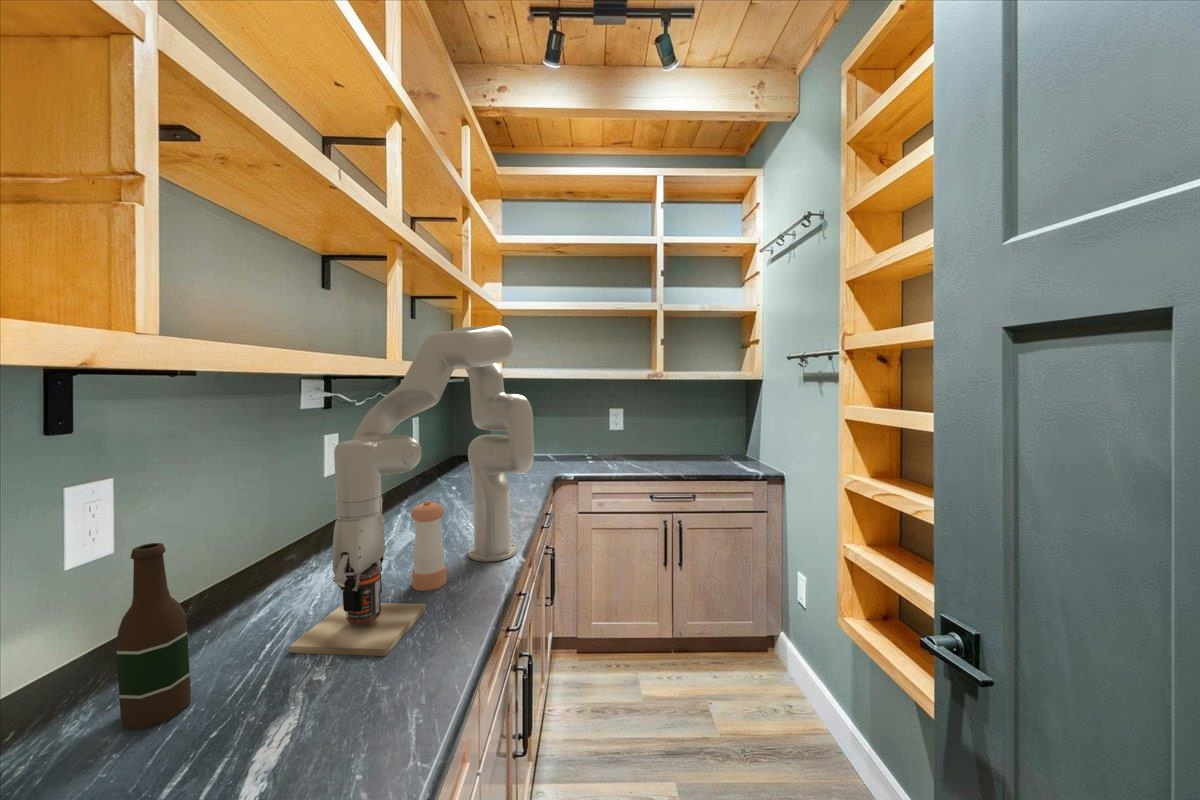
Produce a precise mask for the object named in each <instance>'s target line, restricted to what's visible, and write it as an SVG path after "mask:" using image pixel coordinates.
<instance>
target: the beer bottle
mask: <svg viewBox="0 0 1200 800" xmlns="http://www.w3.org/2000/svg"><path fill="white" fill-rule="evenodd" d="M164 553H166V547H165V545H164V543H162V542H161V543H160V542H151V543H147V544H141V545H139V546H136V547H134V548H132V549H131V554H130V559H131V560H133V571H132V572H133V575H132V577H133V583H132V601H131V605H130V607H129V608H128V610H127V611H126V612H125V614H124V615H123V617H122V619H121V622H120V624H119V627H118V629H117V636H116V665H117V677H118V678H117V680H118V693H119V695H118V696H119V711H120V719H121V726H122V728H123V729H124V728H129V729H128V730H145V729H149V728H151V727H154V726H157V725H159V724H162V723H165V722H167V721H168V722H169V721H170V720H172V719H174V718H175V717H177V715H179V714H180V713H181V712H183V711H184V710H185V709H187V708H188V707H189V706H190V704H191V690H192V689H191V676H190V674H191V673H190V659H189V656H190V653H189V640H188V638H189V637H188V626H187V619H186V618H187V617H186V612H185V610H184V608H183V607H182V605H181V603H180V602H178V601H177V600H176V599H175V598H173V596H171V594H170V590H169V587H168V582H167V581H168V580H167V573H166V566H165V560H164ZM148 727H149V728H148Z"/></svg>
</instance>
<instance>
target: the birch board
mask: <svg viewBox="0 0 1200 800" xmlns="http://www.w3.org/2000/svg"><path fill="white" fill-rule="evenodd" d="M426 610H427V604H426V603H403V602H402V603H400V602H399V603H397V602H393V603H392V602H381V613H380V615H379V616H378V617H377V618H376V619H374V620H372V621H370V622H367V623H363V624H352V623H349V622H348V621H347V620H346V611H344V608H343V603H342V604H341V605H340V606H339V607H337V608H336V609H334V610H333V611H332V612H331V613H329V614H328V615H327V616H326V617H324V618H323V619H322V620H320V622H318V623H316V624H315V625H314V626H313V627H312V628H310V629H309V630H308V631H307V632H305V633H304V634H303V635H302V636H301V637H299V638H297V639H296V640H295V641H294V642H293V643H291V644H290V645H289V653H291V654H311V655H313V654H314V655H315V654H317V655H345V656H348V655H349V656H368V657H369V656H374V657H375V656H376V657H386V656H387V654H389V653H390V651H391V650H393V648H394V647H395V646H396V645H397V644H398V642H399V641H400V640H401V639H402V638H403V637H404V636H405V635H406V634H407V632H408V631H409V630H410V629H411V627H413V626H414V624H415V623H417V621H418V620H419V619H420V617H421V616H422V615H424V613H426Z"/></svg>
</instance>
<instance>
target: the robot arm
mask: <svg viewBox="0 0 1200 800" xmlns="http://www.w3.org/2000/svg"><path fill="white" fill-rule="evenodd" d="M514 344H515V343H514V337H513V335H512V333H511V332H510V331H509V329H508V328H507V327H505V326H503V325H483V326H482V325H480V326H477V325H476V326H463V327H458V328H457V327H456V328H454V329H452V330H451V331H449V330H447V331H437V332H433V333H430V334H428V335H427V336H426V337H425V338H424V340H423V341H422V343H421V345H420V346H419V348H418V351H417V352H416V353H415V356H414V359H413V360H412V362H411V364H410V366H409V368H408V370H407V372H406V373H405V375H404V378H403V379H402V380H401V383H400V384H399V385H398V386H397V387H395V388H394V389H393V390H392V391H390V392H388V394H387V395H385V396H384V397H383V398H381V399H380V400H379V401H378V402H377V403H376V404H375V405H374V406H373V407H371V408H370V410H368V412H366V414H365V416H363V419H362V420H361V422H360V424H359V425H358V427H357V429H356V431H355V433H354V435H353V437H352V439H350V440H349V439H348V440H345V441H341V442H338V443H337V444H336V445H335V447H334V450H333V456H334V457H333V459H334V461H333V462H334V481H335V482H334V483H335V485H334V486H335V503H336V504H335V506H336V507H335V508H336V509H335V510H336V519H335V523H334V527H333V537H332V571H333V574H334V575H333V578H332V581H333V582H334V584H336V585H337V586H338V587H339V589H340V591H341V592H342V604H343V608H344V611H347V612H360V611H361V610H362V591H361V589H359V584H360V578H361V573H362V572H363V571H365V570H366V569H367V568H369V567H370V566H371V565H372V563H374V565H375V566H377V567H378V568H379V570H380V591H381V593H382V592H383V588H382V571H383V565H382V563H383V561H384V556H385V552H386V551H387V545H386V544H385V543H386V542H385V529H384V527H385V526H384V519H383V515H382V513H383V502H382V501H383V500H382V479H381V478H382V476H383V475H384V476H385V475H397V474H403V473H407V472H410V471H411V470H413V469H414V468H415V467H417V465H418V464H419V463H420V462H421V458H422V453H423V452H422V446H421V445H420V443H419V442H418V441H417V440H416V439H415V438H414V437H411V436H409V435H405V434H404V435H403V434H392V432H393V430H394V429H396V427H397V426H398V425H400V423H402V422H403V421H405V420H407V419H408V418H410V417H412V416H415V415H416V414H419V413H422V412H424V411H426V410H428V409H430V408H432V407H434V406H435V405H438V403H439V402H440V400H441V398H442V396H443V393H444V392H445V389H446V387H447V385H448V382H449V380H450V379H451V376H452V374H453V372H454V371H455V370H465V372H466V373H467V376H468V380H469V386H470V387H469V389H470V407H471V418H472V423H473V424H474V426H475V427H476V428H478V429H481V430H485V431H496V432H497V431H499V432H500V431H501V432H507V435H504V434H503V435H502V434H482V435H478V436H477V437H475V438H474V439H472V440H471V442H470V443H469V446H468V449H467V457H468V463H469V467H470V472H471V479H472V507H473V508H472V509H473V511H472V513H473V543H474V544H473V546H471V547H470V548H469V549H468V551H467V554H468V557H469V558H470V559H471V560H473V561H475V562H476V561H477V562H483V563H484V562H486V563H490V562H498V561H504V560H506V559H509V558H511V557H513V556H515V554H516V553H518V552H517V550H518V549H517V545H516V544H514V543H513V542H511V541H512V539H511V537H512V536H511V490H510V484H509V481H508V477H507V476H506V474H524V473H526V472H528V471H529V470H530V469H531V468H532V466H533V464H534V460H535V437H534V436H535V435H534V432H535V431H534V413H533V407H532V405H531V402H530V401H529V400H528V398H527V397H525V396H524V395H522V394H518V393H506V392H505V387H504V386H505V385H504V376H503V371H502V370H501V367H500V365H499V364H498V363H500V362H503V361H505V360H507V359H509V357H510V355H511V354H512V352H513V350H514ZM505 473H506V474H505ZM350 569H354V572H349V570H350ZM349 576H354V582H352V581H351V580H348V579H349Z"/></svg>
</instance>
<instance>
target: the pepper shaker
mask: <svg viewBox="0 0 1200 800" xmlns="http://www.w3.org/2000/svg"><path fill="white" fill-rule="evenodd" d="M444 513H445V511H444V508H443V506H442V505H441V504H440V503H436V502H431V500H428V499H427V500H424V501H423V503H420V504H418V505H416V506H414V507H413V508H412V509H411V513H410V516H411V519H412V520H413V521H414V533H415V535H414V546H413V551H412V552H413V554H412V559H413V560H412V561H413V562H412V563H413V569H412V571H411V576H412V577H411V580H412V581H411V582H412V583H411V584H412V588H413V589H414V590H415V591H422V592H425V591H426V592H427V591H432V590H436V589H439V588H441V587H443V586H444V585H445V584H446V583H447V566H446V565H445V549H444V544H443V540H442V539H443V538H442V528H441V527H442V525H441V523H442V521H441V518H442V517H443V516H444Z"/></svg>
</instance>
